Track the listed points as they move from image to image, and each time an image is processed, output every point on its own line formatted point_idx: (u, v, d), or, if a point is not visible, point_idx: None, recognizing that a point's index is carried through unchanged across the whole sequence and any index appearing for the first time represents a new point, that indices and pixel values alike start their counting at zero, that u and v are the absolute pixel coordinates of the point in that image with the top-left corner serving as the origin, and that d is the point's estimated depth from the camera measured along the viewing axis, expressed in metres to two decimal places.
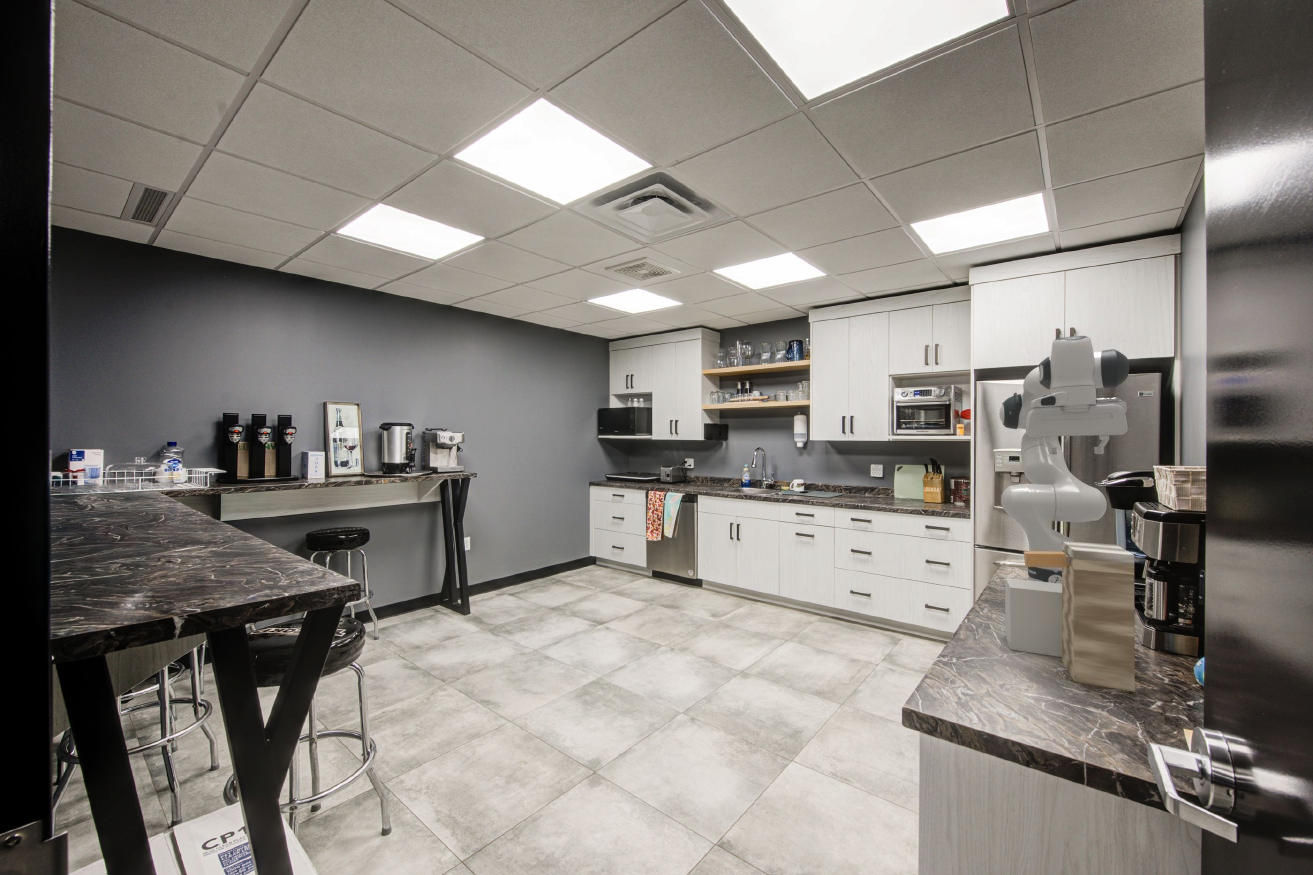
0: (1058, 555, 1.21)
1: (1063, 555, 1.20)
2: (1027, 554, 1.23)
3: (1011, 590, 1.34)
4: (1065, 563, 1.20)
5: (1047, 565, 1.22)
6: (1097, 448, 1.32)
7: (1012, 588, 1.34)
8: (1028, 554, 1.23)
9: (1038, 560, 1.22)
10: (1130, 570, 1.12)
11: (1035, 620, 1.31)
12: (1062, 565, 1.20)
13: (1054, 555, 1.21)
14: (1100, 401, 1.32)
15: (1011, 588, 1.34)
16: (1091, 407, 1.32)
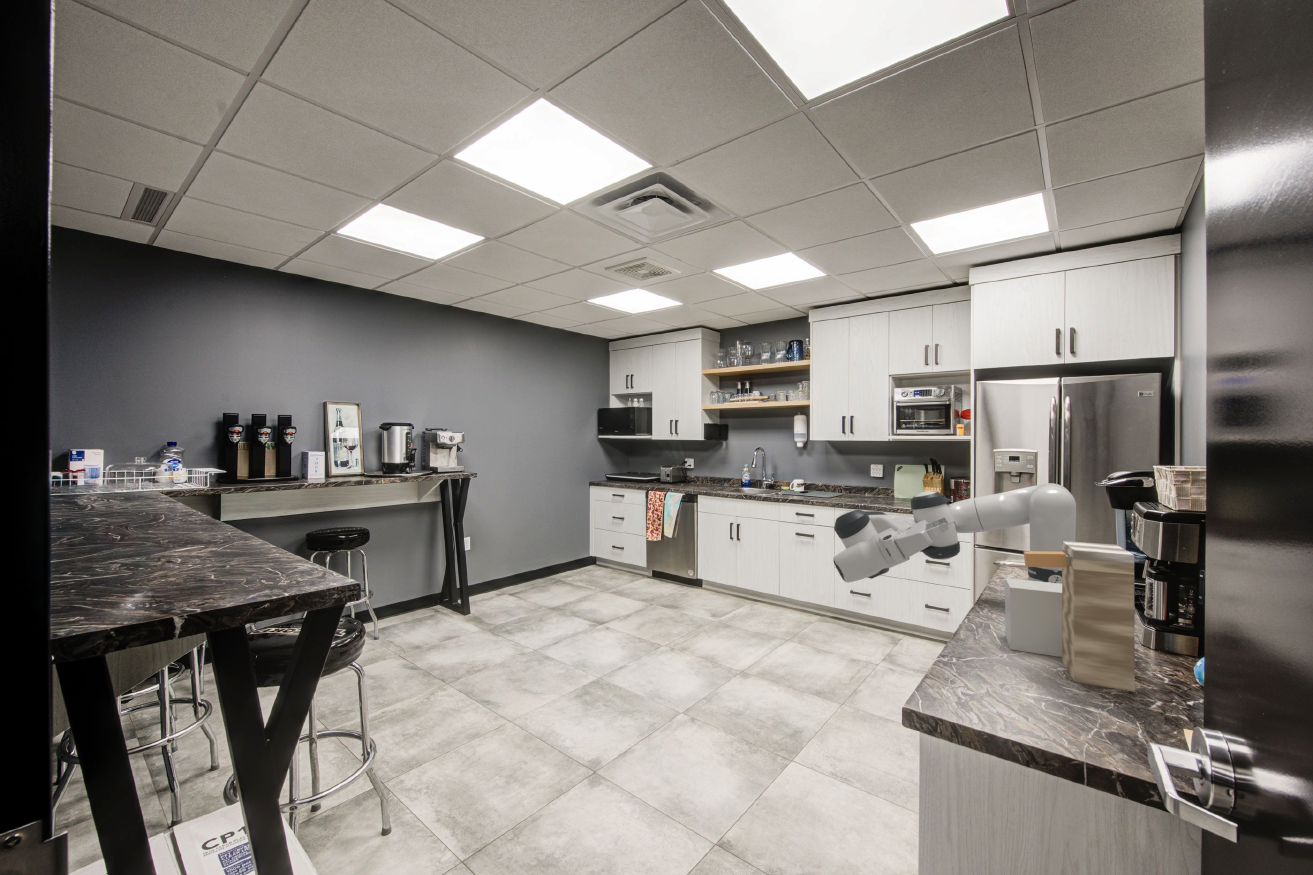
0: (1058, 555, 1.21)
1: (1063, 555, 1.20)
2: (1027, 554, 1.23)
3: (1011, 590, 1.34)
4: (1065, 563, 1.20)
5: (1047, 565, 1.22)
6: (939, 519, 1.37)
7: (1012, 588, 1.34)
8: (1028, 554, 1.23)
9: (1038, 560, 1.22)
10: (1130, 570, 1.12)
11: (1035, 620, 1.31)
12: (1062, 565, 1.20)
13: (1054, 555, 1.21)
14: None
15: (1011, 588, 1.34)
16: None
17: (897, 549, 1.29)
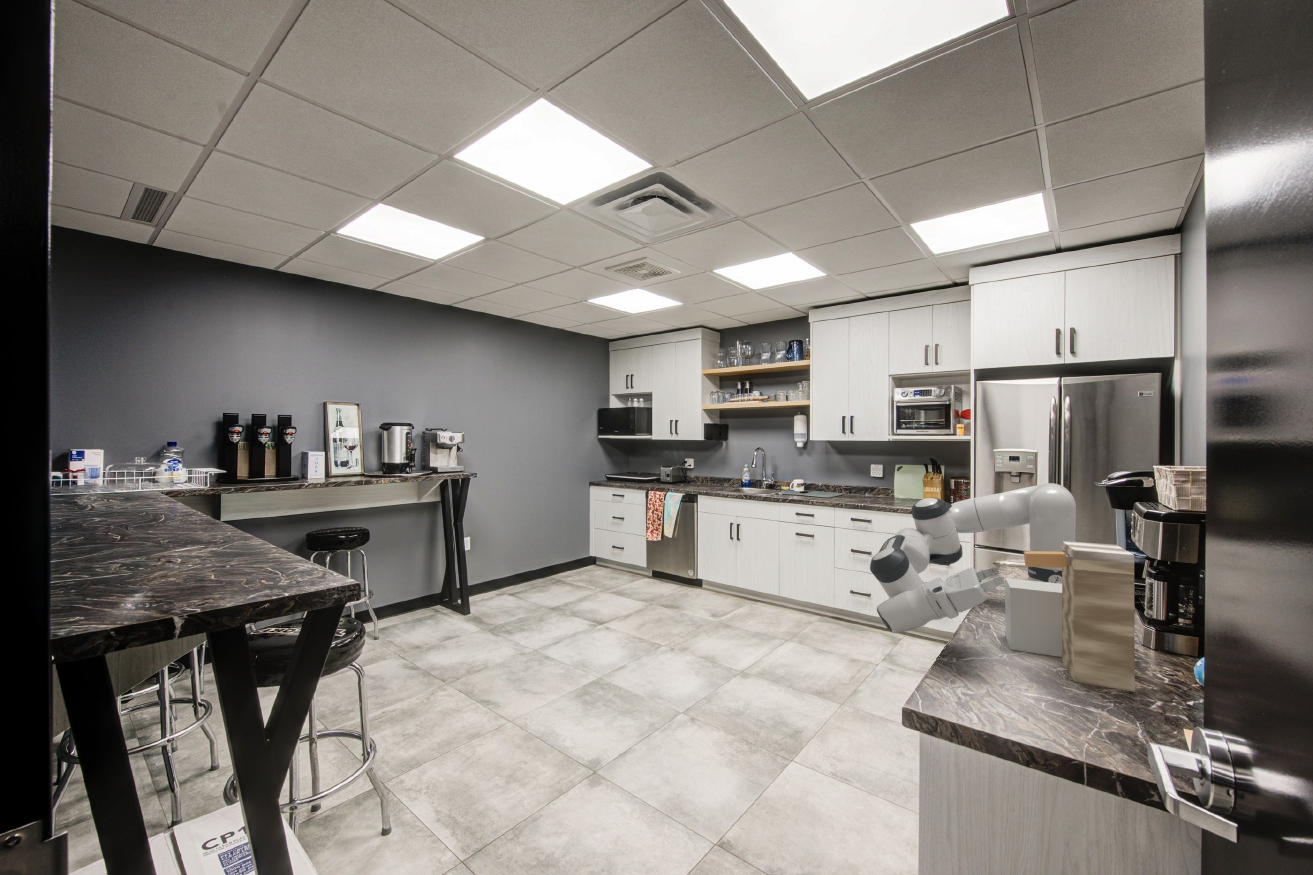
0: (1058, 555, 1.21)
1: (1063, 555, 1.20)
2: (1027, 554, 1.23)
3: (1011, 590, 1.34)
4: (1065, 563, 1.20)
5: (1047, 565, 1.22)
6: (990, 568, 1.31)
7: (1012, 588, 1.34)
8: (1028, 554, 1.23)
9: (1038, 560, 1.22)
10: (1130, 570, 1.12)
11: (1035, 620, 1.31)
12: (1062, 565, 1.20)
13: (1054, 555, 1.21)
14: None
15: (1011, 588, 1.34)
16: None
17: (949, 603, 1.24)
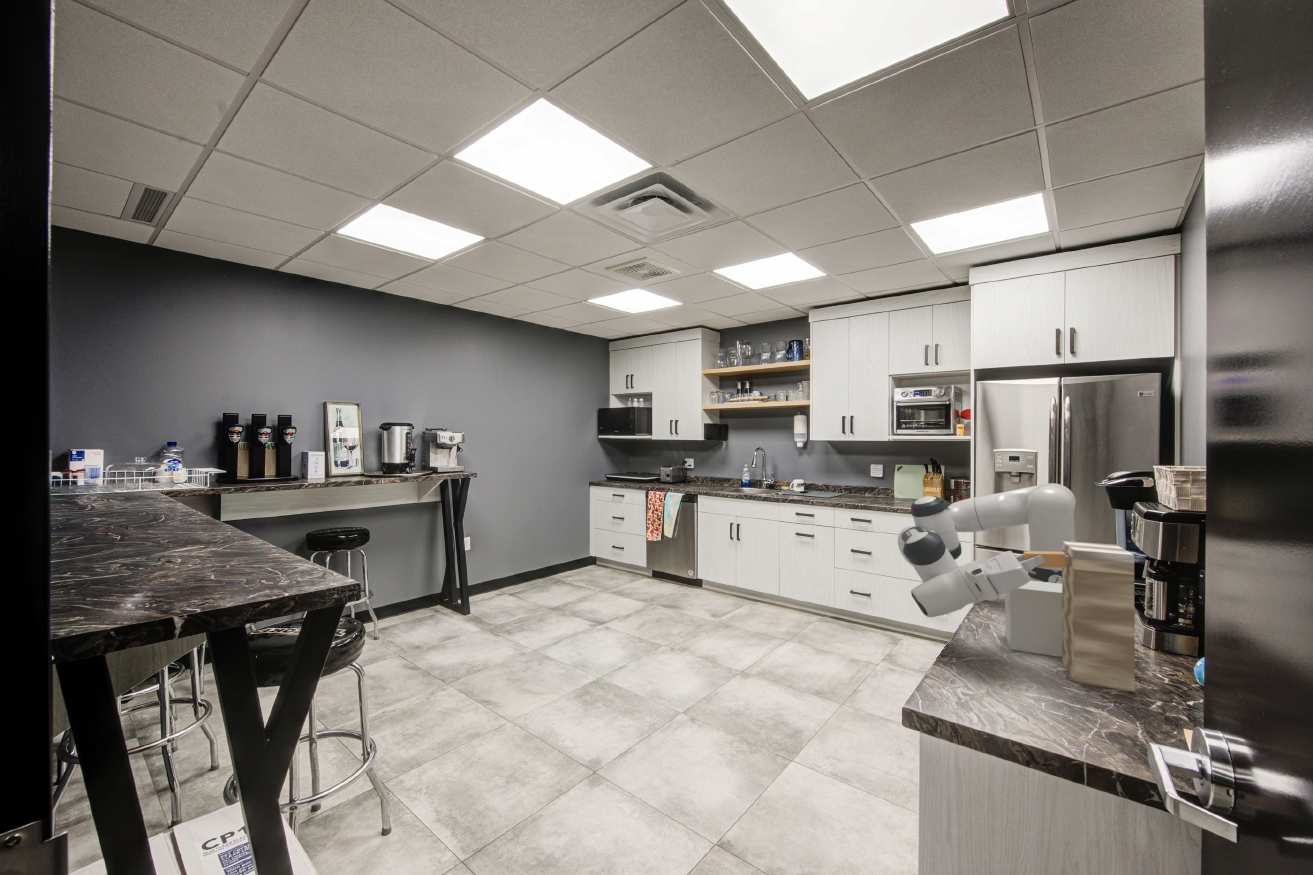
0: (1058, 555, 1.21)
1: (1063, 555, 1.20)
2: (1027, 554, 1.23)
3: None
4: (1065, 563, 1.20)
5: (1047, 565, 1.22)
6: None
7: None
8: (1028, 554, 1.23)
9: None
10: (1130, 570, 1.12)
11: (1035, 620, 1.31)
12: (1062, 565, 1.20)
13: (1054, 555, 1.21)
14: None
15: None
16: None
17: (990, 585, 1.21)
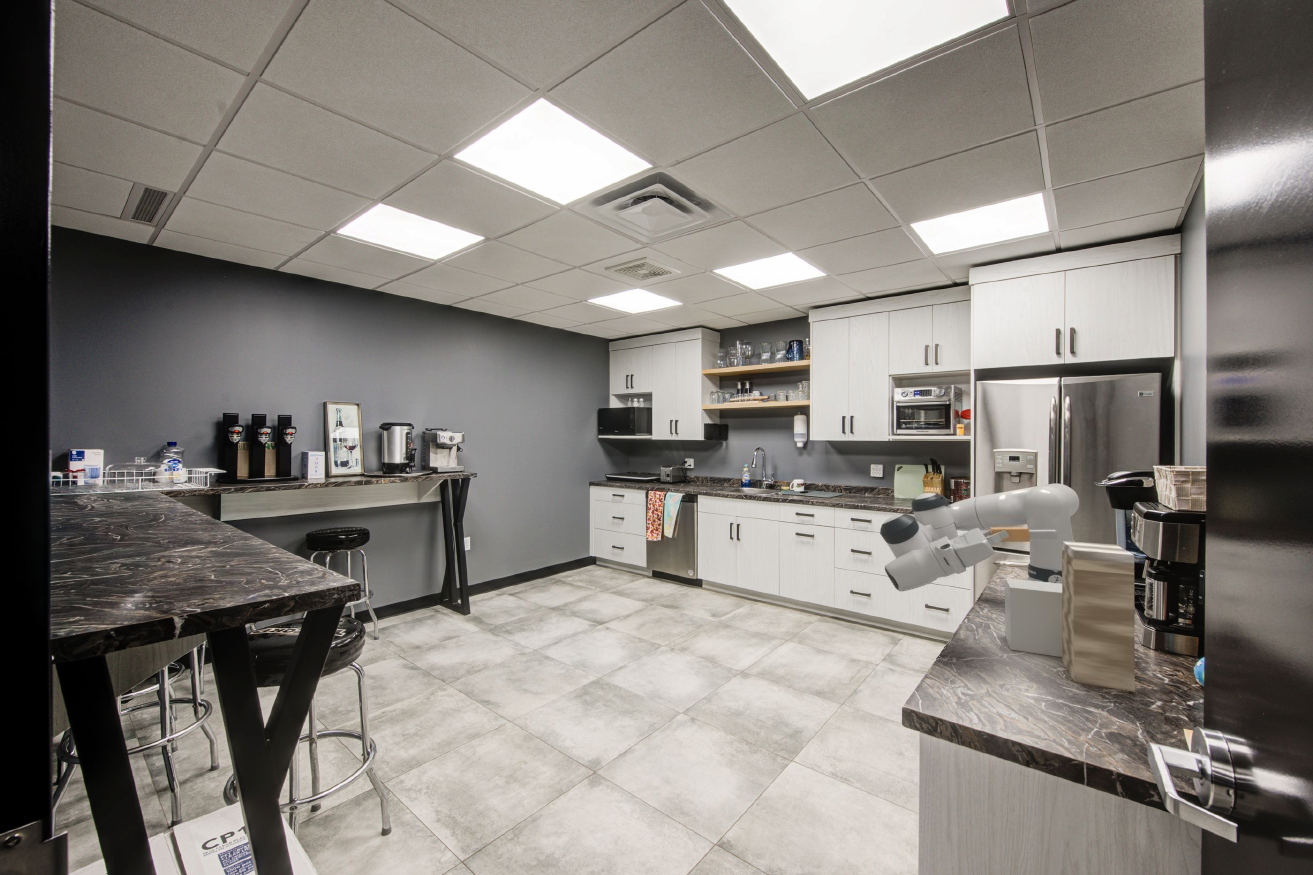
0: (1022, 530, 1.28)
1: (1026, 530, 1.27)
2: (993, 530, 1.30)
3: (1011, 590, 1.34)
4: (1028, 537, 1.27)
5: (1011, 540, 1.29)
6: None
7: (1012, 588, 1.34)
8: (994, 530, 1.30)
9: None
10: (1130, 570, 1.12)
11: (1035, 620, 1.31)
12: (1025, 539, 1.27)
13: (1018, 530, 1.28)
14: None
15: (1011, 588, 1.34)
16: None
17: (957, 559, 1.27)
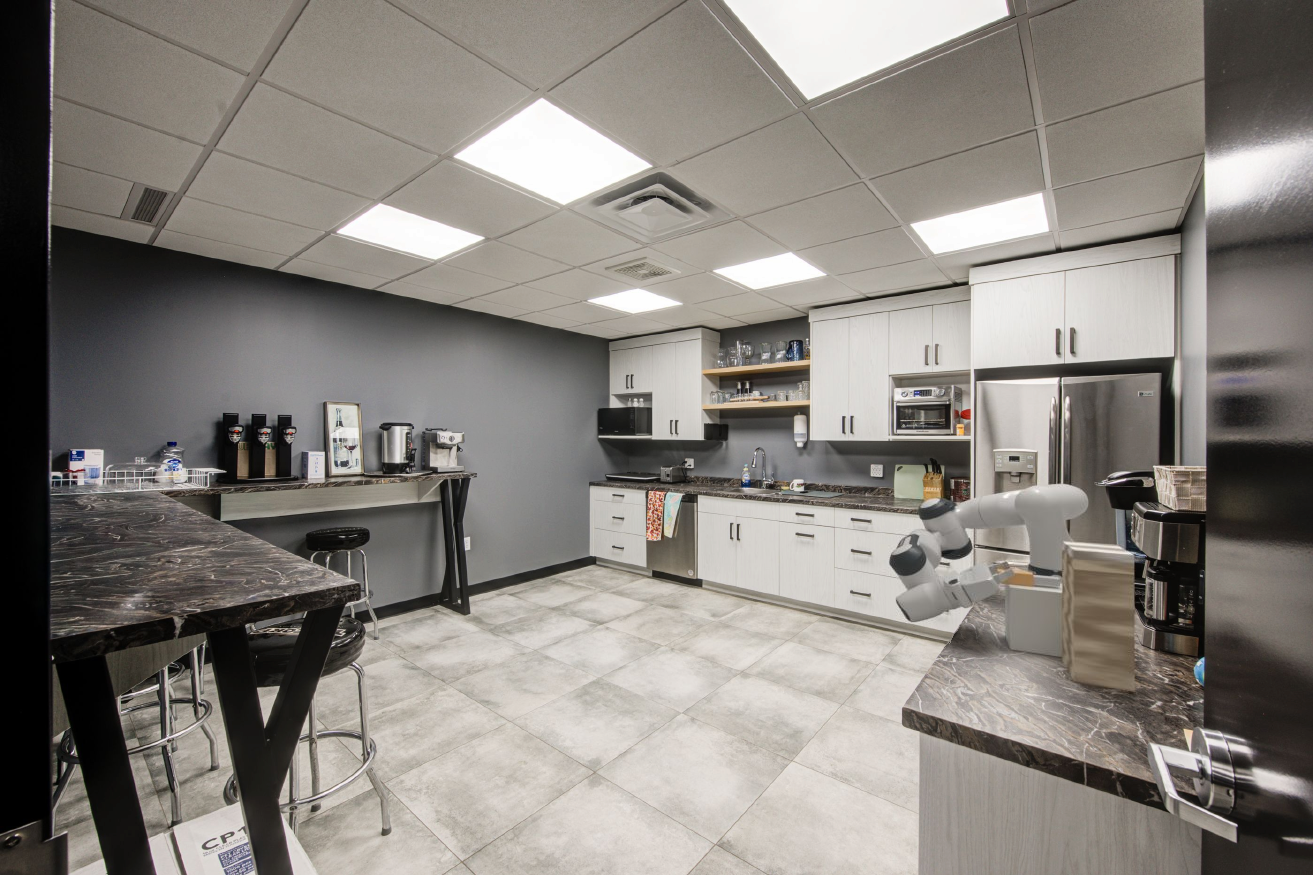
0: (1027, 575, 1.35)
1: (1031, 575, 1.35)
2: (999, 572, 1.38)
3: (1011, 590, 1.34)
4: (1032, 582, 1.34)
5: (1016, 583, 1.36)
6: (1001, 563, 1.42)
7: (1012, 588, 1.34)
8: (1000, 572, 1.38)
9: (1008, 578, 1.37)
10: (1130, 570, 1.12)
11: (1035, 620, 1.31)
12: (1029, 584, 1.35)
13: (1023, 575, 1.35)
14: None
15: (1011, 588, 1.34)
16: None
17: (964, 594, 1.35)
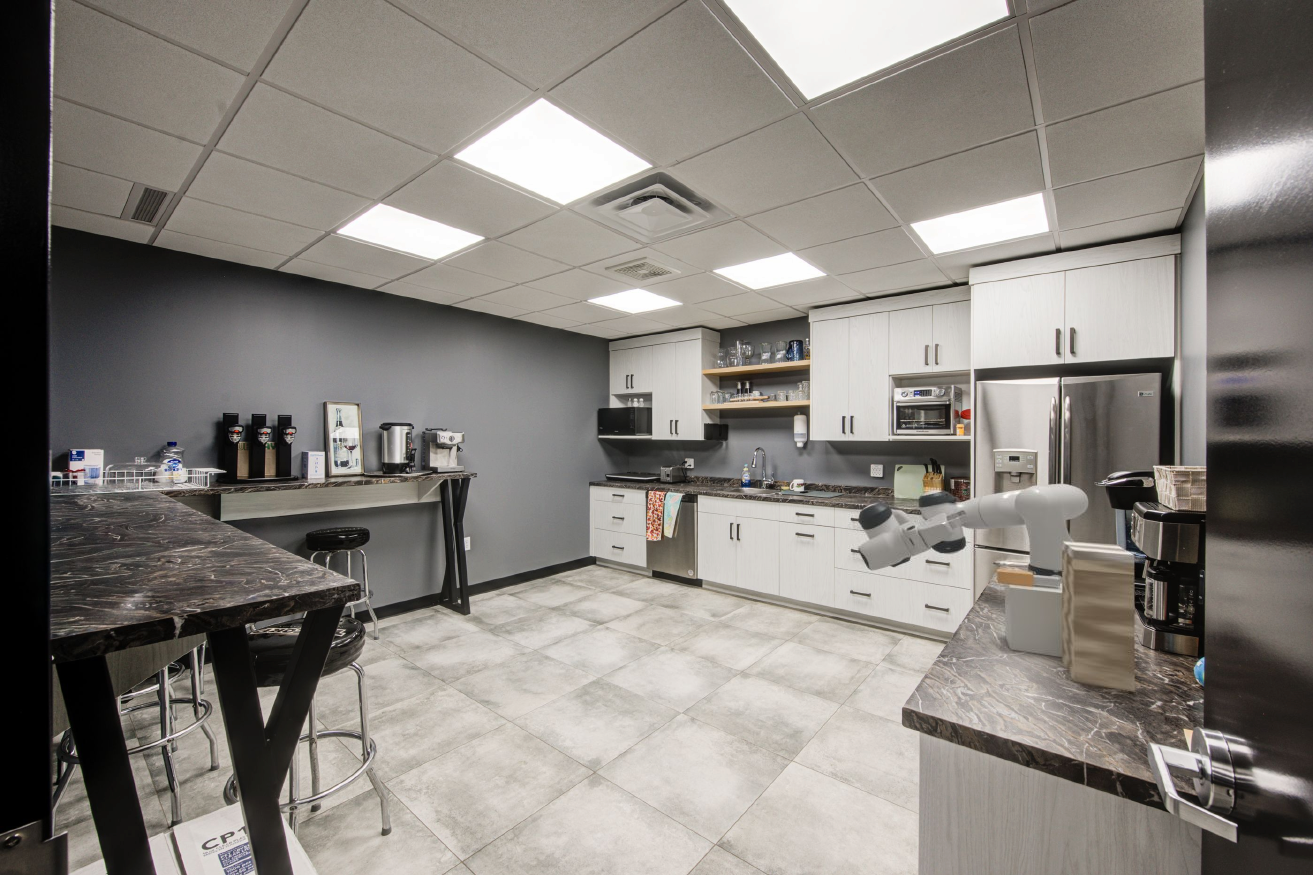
0: (1027, 575, 1.35)
1: (1031, 575, 1.35)
2: (999, 572, 1.38)
3: (1011, 590, 1.34)
4: (1032, 582, 1.34)
5: (1016, 583, 1.36)
6: (958, 511, 1.47)
7: (1012, 588, 1.34)
8: (1000, 572, 1.38)
9: (1008, 578, 1.37)
10: (1130, 570, 1.12)
11: (1035, 620, 1.31)
12: (1029, 584, 1.35)
13: (1023, 575, 1.35)
14: None
15: (1011, 588, 1.34)
16: None
17: (920, 539, 1.40)
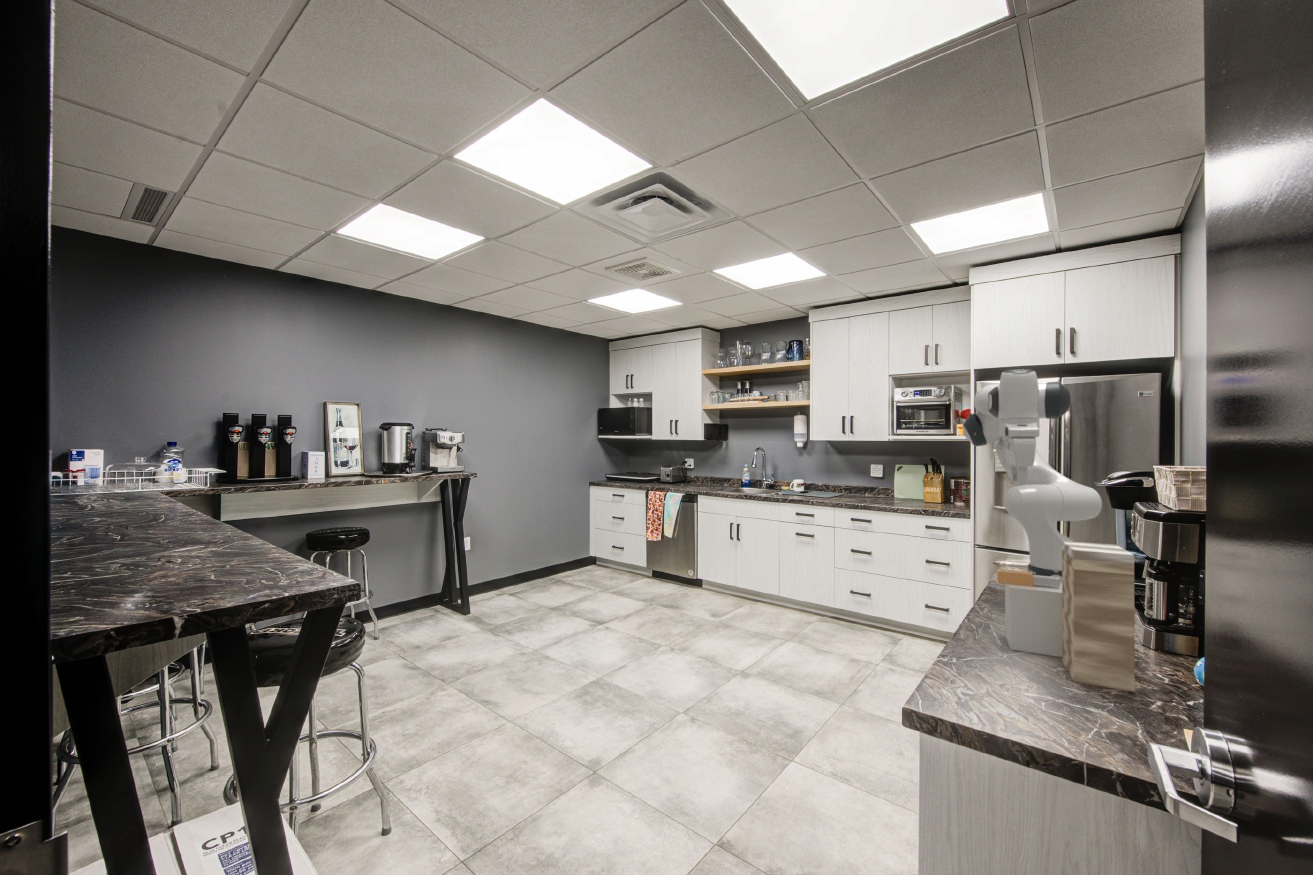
0: (1027, 575, 1.35)
1: (1031, 575, 1.35)
2: (999, 572, 1.38)
3: (1011, 590, 1.34)
4: (1032, 582, 1.34)
5: (1016, 583, 1.36)
6: None
7: (1012, 588, 1.34)
8: (1000, 572, 1.38)
9: (1008, 578, 1.37)
10: (1130, 570, 1.12)
11: (1035, 620, 1.31)
12: (1029, 584, 1.35)
13: (1023, 575, 1.35)
14: None
15: (1011, 588, 1.34)
16: None
17: (1024, 435, 1.33)
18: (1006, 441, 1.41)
